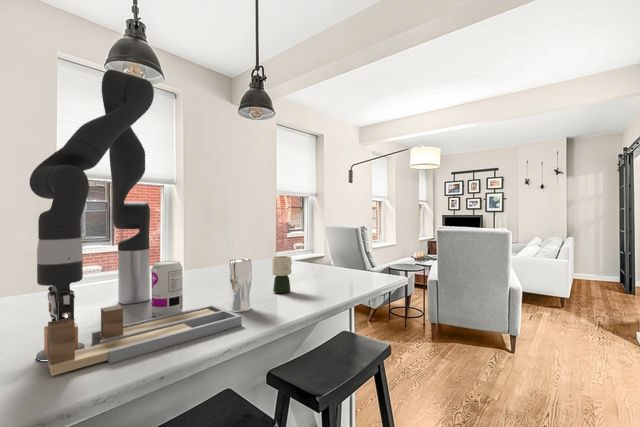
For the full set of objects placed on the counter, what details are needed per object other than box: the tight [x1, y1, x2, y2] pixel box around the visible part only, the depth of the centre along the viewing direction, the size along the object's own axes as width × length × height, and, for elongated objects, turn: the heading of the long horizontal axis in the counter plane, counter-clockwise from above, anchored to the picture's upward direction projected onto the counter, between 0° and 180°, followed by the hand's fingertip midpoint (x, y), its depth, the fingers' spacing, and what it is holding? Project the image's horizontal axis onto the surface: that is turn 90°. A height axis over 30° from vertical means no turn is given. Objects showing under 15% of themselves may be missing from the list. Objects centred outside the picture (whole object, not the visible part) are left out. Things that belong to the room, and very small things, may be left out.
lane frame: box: [91, 304, 243, 365], centre depth 79 cm, size 15×30×2 cm, turn 136°
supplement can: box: [151, 260, 184, 318], centre depth 95 cm, size 8×8×15 cm
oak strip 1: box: [47, 317, 191, 377], centre depth 69 cm, size 6×26×9 cm, turn 136°
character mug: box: [271, 255, 293, 294], centre depth 120 cm, size 11×7×13 cm, turn 39°
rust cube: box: [43, 323, 79, 358], centre depth 69 cm, size 5×5×5 cm
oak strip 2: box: [100, 304, 214, 340], centre depth 81 cm, size 6×26×8 cm, turn 136°
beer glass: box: [228, 258, 253, 313], centre depth 99 cm, size 7×7×15 cm
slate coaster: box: [35, 342, 86, 360], centre depth 69 cm, size 8×8×1 cm
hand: (61, 338), depth 69 cm, fingers open, 6 cm apart
